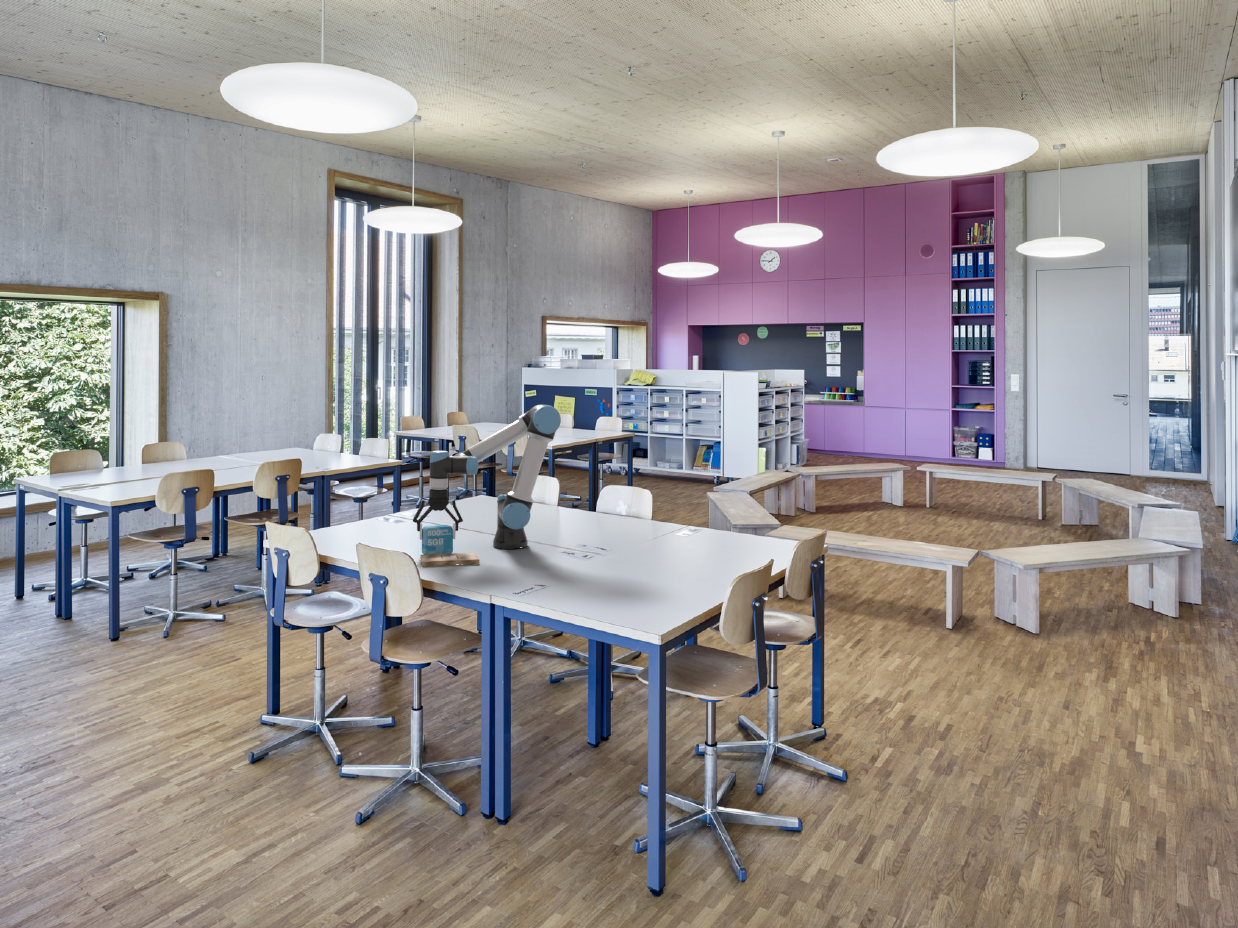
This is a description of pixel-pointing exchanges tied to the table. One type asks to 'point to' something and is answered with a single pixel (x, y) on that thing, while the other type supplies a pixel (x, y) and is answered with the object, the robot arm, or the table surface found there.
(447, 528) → the data package
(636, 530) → the table surface
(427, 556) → the oak board
